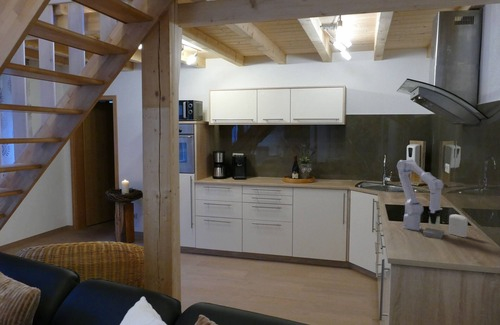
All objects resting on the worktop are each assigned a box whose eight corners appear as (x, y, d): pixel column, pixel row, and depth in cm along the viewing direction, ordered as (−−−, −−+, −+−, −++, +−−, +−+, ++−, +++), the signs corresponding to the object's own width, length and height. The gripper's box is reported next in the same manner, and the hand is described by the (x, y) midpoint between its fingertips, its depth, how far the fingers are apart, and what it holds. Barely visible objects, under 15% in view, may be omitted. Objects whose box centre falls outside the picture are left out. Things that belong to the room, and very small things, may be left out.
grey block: (422, 236, 226) (422, 231, 226) (426, 232, 234) (426, 227, 234) (441, 239, 221) (441, 234, 220) (444, 235, 229) (444, 230, 228)
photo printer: (447, 233, 231) (448, 213, 229) (451, 232, 233) (452, 212, 231) (463, 238, 222) (465, 217, 220) (468, 236, 224) (469, 216, 222)
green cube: (428, 225, 226) (429, 217, 226) (430, 223, 230) (430, 215, 230) (437, 226, 223) (438, 218, 223) (439, 224, 227) (439, 216, 227)
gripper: (440, 203, 217) (439, 226, 218) (444, 198, 229) (443, 220, 230) (427, 201, 221) (426, 224, 222) (432, 197, 233) (430, 219, 234)
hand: (434, 222), depth 227 cm, fingers closed on green cube, 5 cm apart
